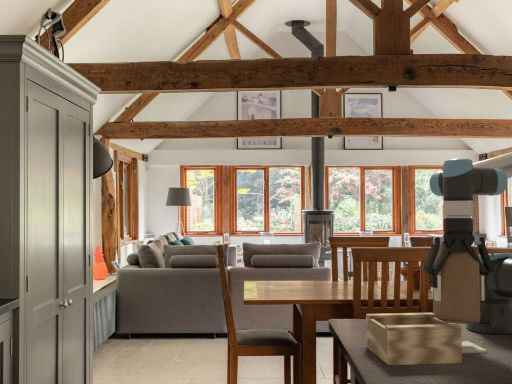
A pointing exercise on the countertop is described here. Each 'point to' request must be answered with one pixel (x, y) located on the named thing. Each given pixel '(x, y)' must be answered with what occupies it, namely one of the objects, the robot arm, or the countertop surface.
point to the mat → (471, 348)
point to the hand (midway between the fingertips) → (459, 300)
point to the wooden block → (458, 289)
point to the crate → (413, 339)
